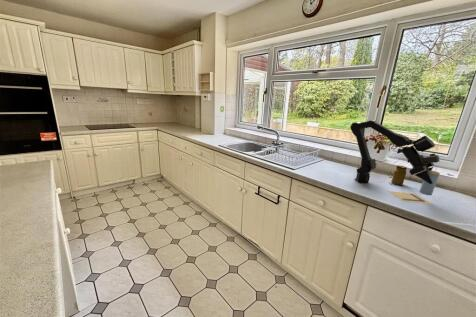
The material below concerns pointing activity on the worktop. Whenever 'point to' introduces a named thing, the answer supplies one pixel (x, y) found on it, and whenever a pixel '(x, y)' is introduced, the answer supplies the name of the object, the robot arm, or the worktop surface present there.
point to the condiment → (399, 176)
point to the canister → (427, 187)
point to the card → (409, 197)
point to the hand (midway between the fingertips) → (433, 182)
